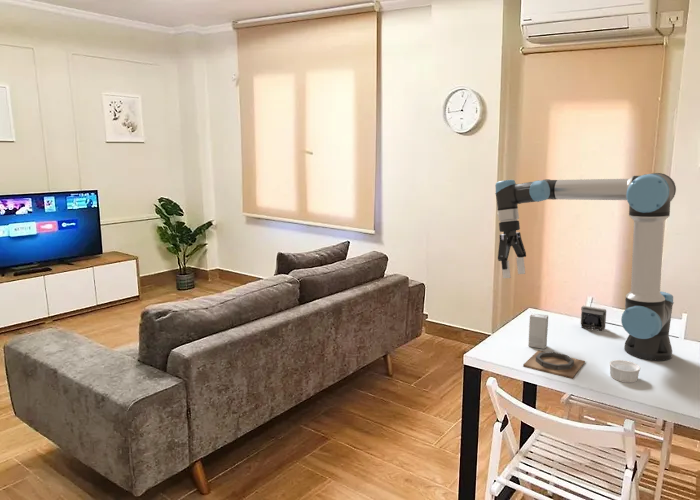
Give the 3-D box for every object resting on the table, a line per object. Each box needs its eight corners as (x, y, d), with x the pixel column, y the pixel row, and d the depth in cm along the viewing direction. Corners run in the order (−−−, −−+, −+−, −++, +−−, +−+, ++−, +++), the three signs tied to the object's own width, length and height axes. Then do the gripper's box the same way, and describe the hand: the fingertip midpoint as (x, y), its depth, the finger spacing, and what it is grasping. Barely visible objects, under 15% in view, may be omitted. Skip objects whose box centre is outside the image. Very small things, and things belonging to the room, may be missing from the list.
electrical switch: (605, 329, 219) (607, 307, 216) (603, 333, 215) (605, 312, 212) (580, 324, 224) (582, 304, 221) (578, 329, 220) (579, 308, 217)
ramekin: (625, 385, 168) (626, 372, 168) (602, 374, 176) (603, 362, 176) (645, 381, 172) (646, 368, 171) (621, 370, 180) (623, 358, 179)
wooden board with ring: (584, 362, 186) (585, 356, 185) (572, 378, 173) (573, 372, 173) (538, 351, 195) (538, 346, 195) (523, 366, 182) (523, 360, 182)
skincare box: (546, 345, 201) (549, 314, 198) (544, 349, 197) (547, 318, 194) (529, 342, 203) (532, 312, 201) (527, 346, 200) (529, 315, 197)
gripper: (513, 220, 218) (518, 272, 218) (484, 223, 199) (490, 280, 199) (531, 218, 213) (536, 271, 213) (503, 221, 194) (509, 279, 194)
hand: (514, 276), depth 206 cm, fingers open, 13 cm apart
